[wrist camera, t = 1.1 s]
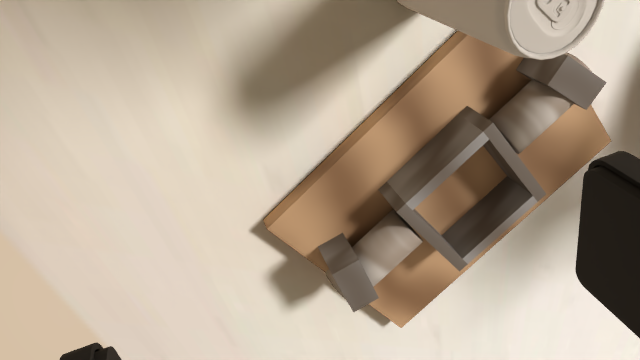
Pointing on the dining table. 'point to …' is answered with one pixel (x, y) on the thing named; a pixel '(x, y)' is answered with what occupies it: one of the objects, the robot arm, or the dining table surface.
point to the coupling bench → (442, 173)
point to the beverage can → (516, 22)
